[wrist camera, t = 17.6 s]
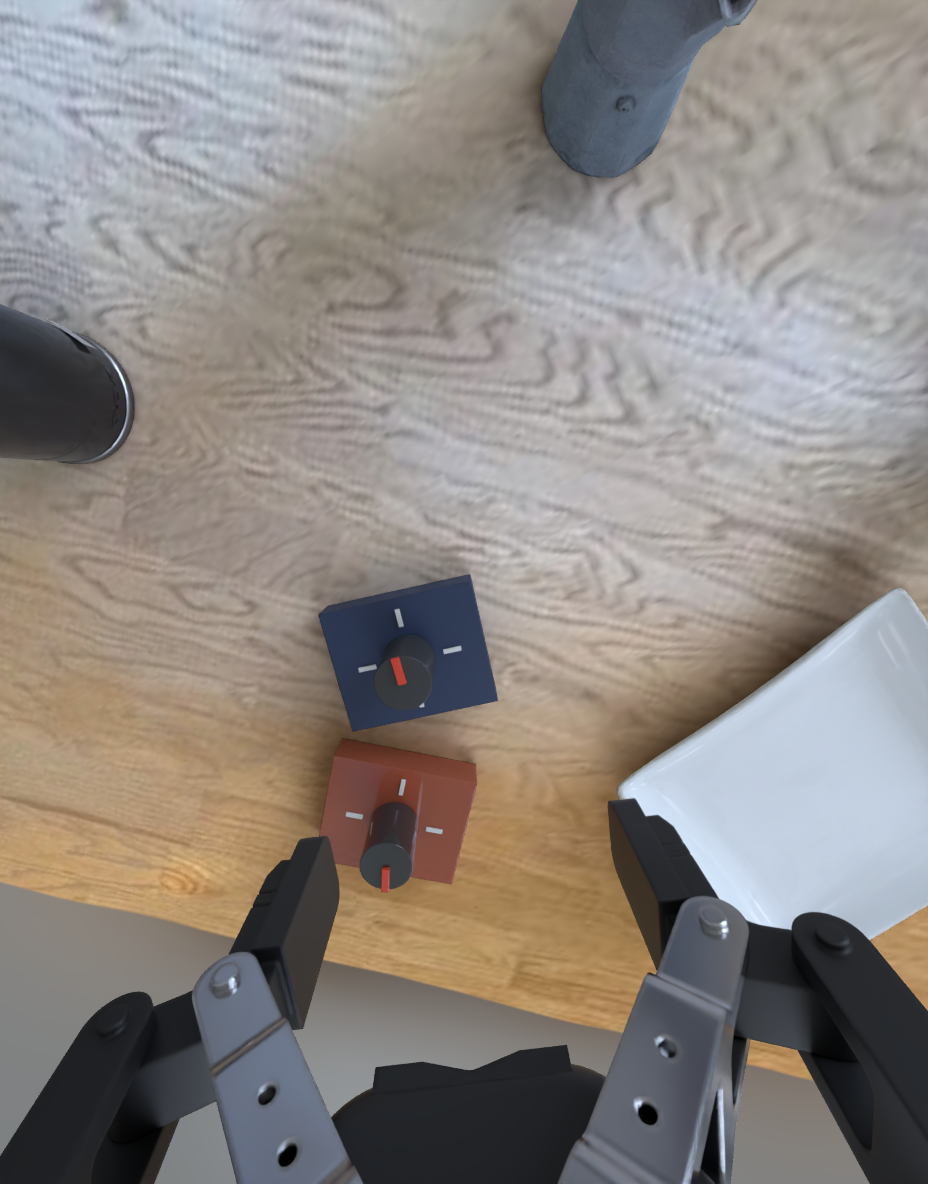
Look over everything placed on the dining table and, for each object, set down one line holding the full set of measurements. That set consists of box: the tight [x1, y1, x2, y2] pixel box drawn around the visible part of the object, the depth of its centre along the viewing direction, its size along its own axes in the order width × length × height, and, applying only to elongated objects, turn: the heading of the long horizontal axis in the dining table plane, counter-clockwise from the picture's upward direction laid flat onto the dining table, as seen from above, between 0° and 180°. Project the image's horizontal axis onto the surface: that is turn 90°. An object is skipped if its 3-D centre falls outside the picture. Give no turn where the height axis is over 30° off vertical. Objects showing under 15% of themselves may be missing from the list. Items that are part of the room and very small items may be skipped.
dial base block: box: [319, 738, 477, 884], centre depth 44 cm, size 12×10×3 cm
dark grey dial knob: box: [359, 802, 418, 892], centre depth 40 cm, size 4×4×5 cm
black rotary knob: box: [374, 635, 435, 710], centre depth 37 cm, size 4×4×5 cm
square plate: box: [617, 588, 928, 940], centre depth 44 cm, size 27×27×4 cm
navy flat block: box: [318, 574, 498, 732], centre depth 41 cm, size 12×10×3 cm
